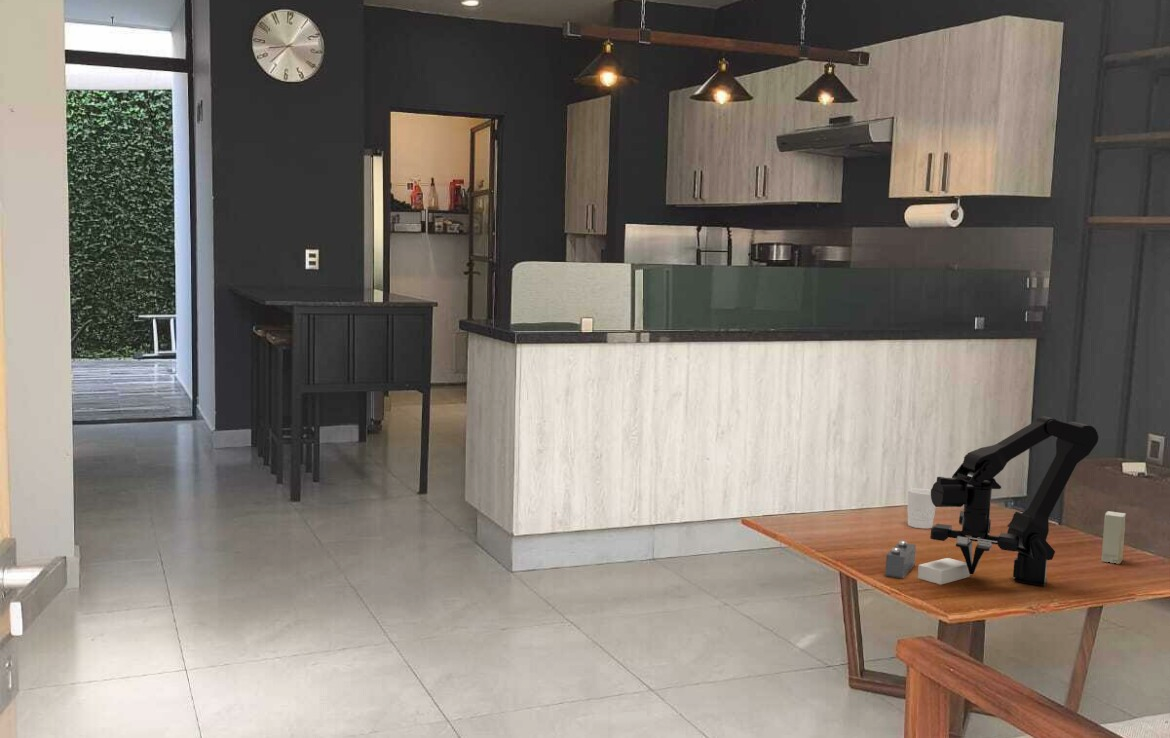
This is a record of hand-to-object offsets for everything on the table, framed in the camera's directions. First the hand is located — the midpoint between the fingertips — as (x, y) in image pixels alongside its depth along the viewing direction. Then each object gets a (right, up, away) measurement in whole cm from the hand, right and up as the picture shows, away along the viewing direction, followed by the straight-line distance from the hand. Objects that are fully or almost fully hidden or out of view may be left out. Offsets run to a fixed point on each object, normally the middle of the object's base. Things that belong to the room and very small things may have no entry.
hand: (971, 573), depth 251 cm
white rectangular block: (-6, -2, +3) cm, 7 cm away
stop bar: (-14, -1, +8) cm, 16 cm away
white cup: (+5, +3, +56) cm, 56 cm away
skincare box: (+44, -2, +26) cm, 51 cm away
